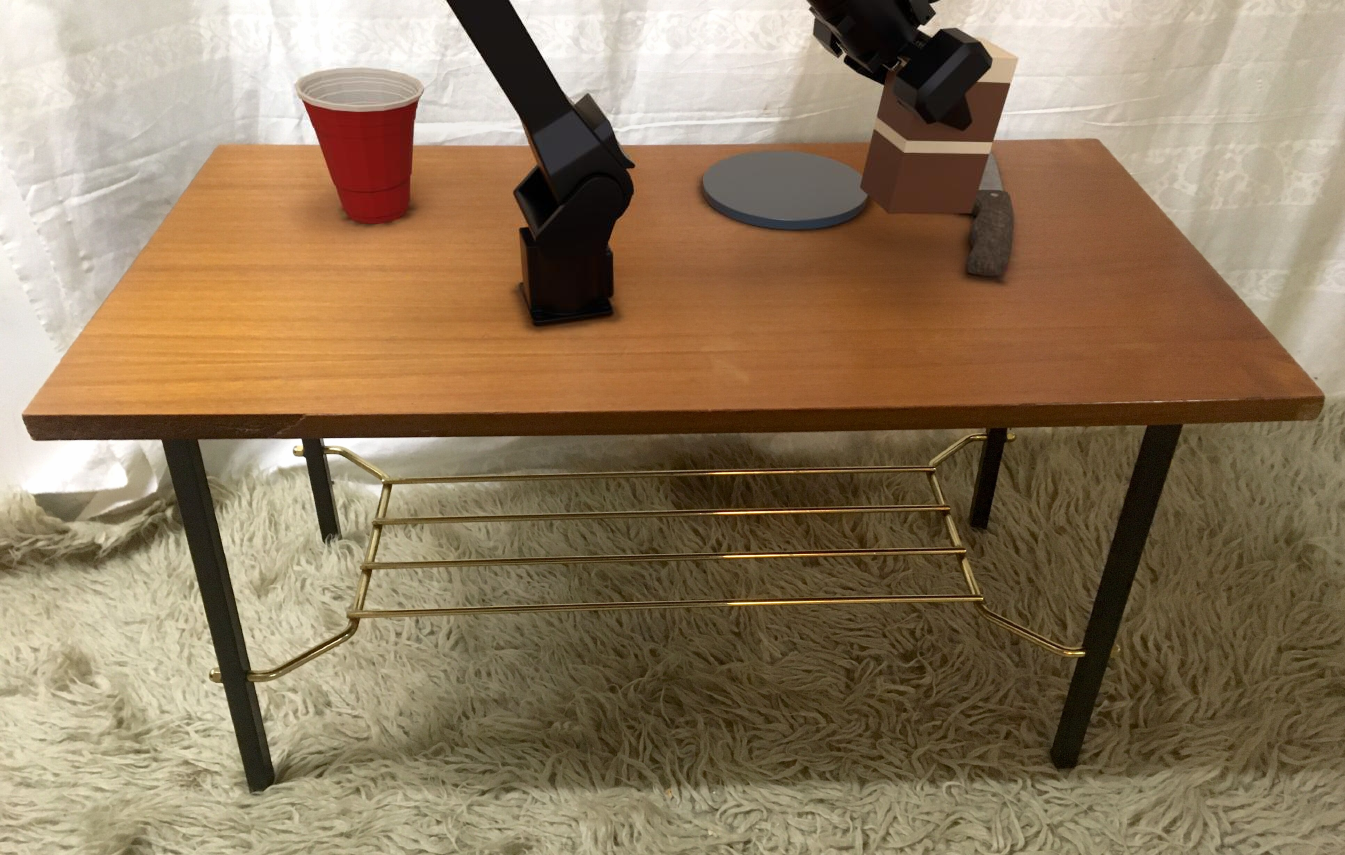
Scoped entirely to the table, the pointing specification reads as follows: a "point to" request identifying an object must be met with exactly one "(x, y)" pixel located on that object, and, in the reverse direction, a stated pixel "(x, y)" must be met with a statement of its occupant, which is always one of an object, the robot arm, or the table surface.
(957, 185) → the cake slice
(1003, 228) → the cleaver
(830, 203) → the plate
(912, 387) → the table surface
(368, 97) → the plastic cup
